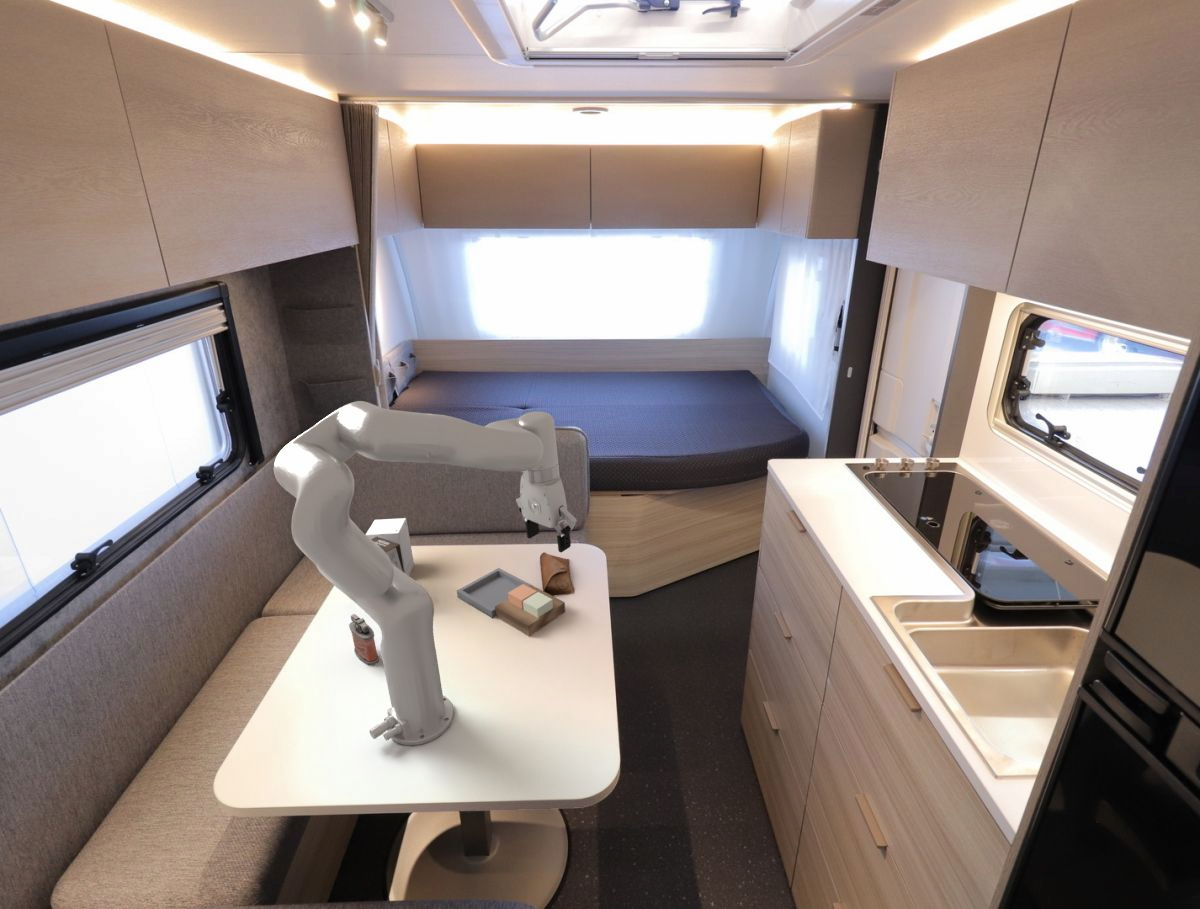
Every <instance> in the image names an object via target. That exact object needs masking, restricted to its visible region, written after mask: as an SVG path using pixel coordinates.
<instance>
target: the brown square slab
mask: <svg viewBox="0 0 1200 909" xmlns="http://www.w3.org/2000/svg"><path fill="white" fill-rule="evenodd" d="M532 585H533V584H531V585H530V586H529V587H530V588H532V589H534V590H536V591H537V592H539V593H541V594H543V595H545V596H547V597H549V598H551V599H552V601H553V608H552V609H551V610H549V611H548V612H546V613H545V614H543V615H542V616H540V617H539V618H537V617H535V616H534V615H532V614H530V613H528V612H526V611H525V610H524V608H523V609H521V608H519V607H518V606H516V605H514V604H512V603H510V602H509V600H508V599H507V600H505V601H503V602H502V603H500V604H498V605H497V606H495V611H496V616H495V618H498V619H499V620H501V621H502V622H504V623H506V624H508V625H509V626H510V627H513V628H514V629H516V630H518V631H520V632H521V633H523V634H524V635H526V636H528V637H531V636H532V635H533V634H534V635H535V633H537V632H538V631H540V630H541V629H543V628H544V627H545V626H547V625H549V624H550V623H552V622H554V621H555V620H556V619H558V618H559V617H561V616H562V615H564V614H565V613H566V604H565V603H566V602H565V601H563V600H561V599H559V598H557V597H556V596H552V595H550V594H548V593H546V592H544V591H543V589H540V588H538V587H537V586H534V585H533V586H532Z"/></svg>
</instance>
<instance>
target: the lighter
mask: <svg viewBox="0 0 1200 909" xmlns="http://www.w3.org/2000/svg"><path fill="white" fill-rule="evenodd" d="M350 619H351V620H350V621H351V622H350V623H349V624H348V625H349V626H348V627H349V630H350V631H351V632H350V633H351V637H352V641H353V645H354V649H353V650H354V654H355V655H356V657H357V659H358V660H359V661H360V662H362V663H363V664H365V665H367V666H369V667H371V666H372V667H373V666H375V665H377V664H378V663H379V662H380V658H379V657H380V656H379V655H378V652H377V647H376V642H375V641H376V640H375V632H374V630H373V629H372V627H371V626H370V625H368V623H367V622H366V620H365V619H364V618H363V617H362V618H361V617H359V616H358V615H357V614H355V613H352V614H351V615H350Z"/></svg>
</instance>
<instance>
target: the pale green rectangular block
mask: <svg viewBox="0 0 1200 909" xmlns="http://www.w3.org/2000/svg"><path fill="white" fill-rule="evenodd" d="M523 608H524V610H525V611H526V612H528V613H530V614H532V615H534V616H535V617H537V618H539V617H540V616H542V615H543V614H545V613H546V612H548V611H549V610H551V609H552V608H553V601H552V599H551V598H549V597H547V596H545V595H543V594H541V593H539V592H537V593H535V594H534V595H532V596H530V597H529V598H527V599H526V600H524V601H523Z"/></svg>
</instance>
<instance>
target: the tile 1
mask: <svg viewBox="0 0 1200 909" xmlns="http://www.w3.org/2000/svg"><path fill="white" fill-rule="evenodd" d="M535 593H537V591H536V590H534V589H532V588H530V587H528V586H526V585H524V584H522V585H520V586H519V587H517V588H515V589H514V590H512V591H510V592H508V600H509V602H510V603H512V604H514V605H516V606H518V607H519V608H521V609H523V601H524V600H526V599H527V598H529V597H530V596H532V595H534V594H535Z"/></svg>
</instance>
